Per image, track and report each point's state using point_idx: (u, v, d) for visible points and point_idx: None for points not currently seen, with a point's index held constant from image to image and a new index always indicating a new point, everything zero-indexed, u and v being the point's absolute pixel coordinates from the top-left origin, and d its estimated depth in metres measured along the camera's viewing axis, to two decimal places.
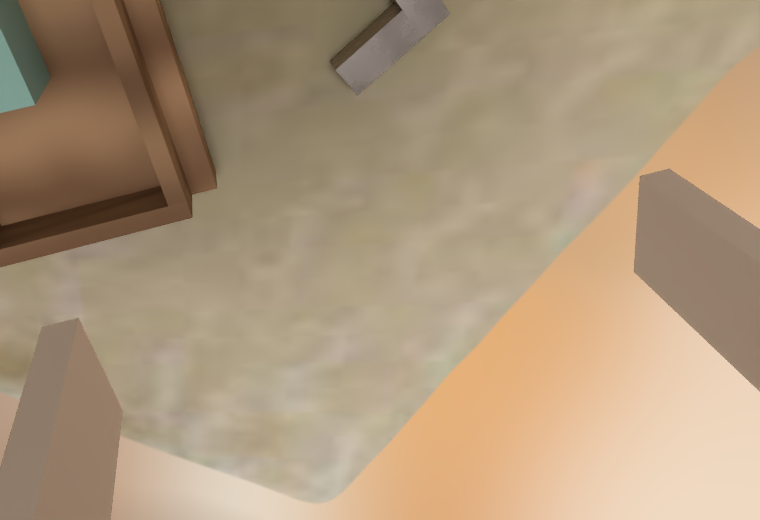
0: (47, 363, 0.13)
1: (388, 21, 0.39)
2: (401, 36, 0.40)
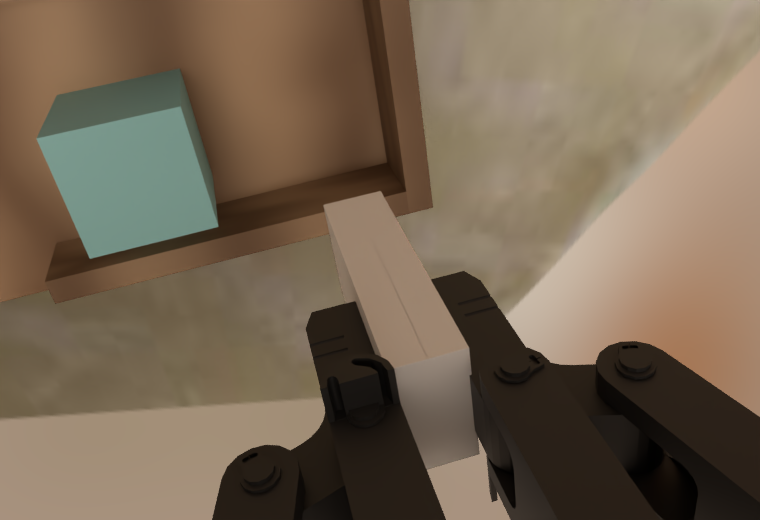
0: (346, 227, 0.16)
1: None
2: None
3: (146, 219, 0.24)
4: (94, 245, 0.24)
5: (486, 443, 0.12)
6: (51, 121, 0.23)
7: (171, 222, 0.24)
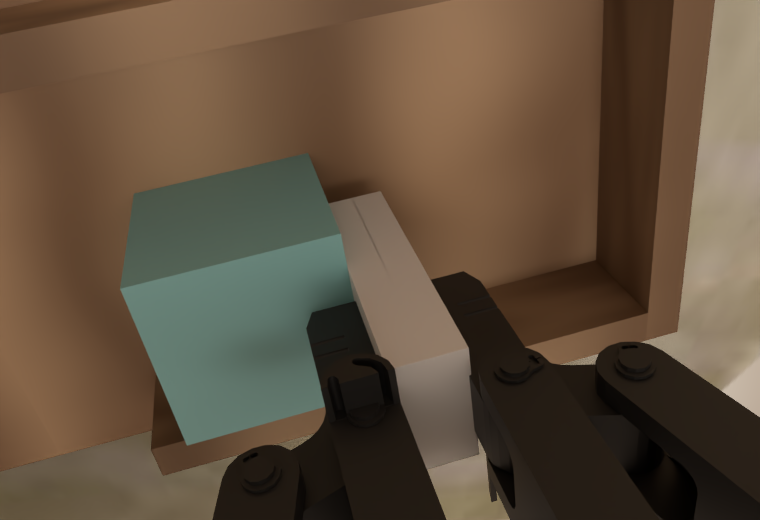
0: (346, 227, 0.16)
1: None
2: None
3: (273, 389, 0.16)
4: (195, 428, 0.16)
5: (486, 443, 0.12)
6: (137, 250, 0.15)
7: (308, 391, 0.16)
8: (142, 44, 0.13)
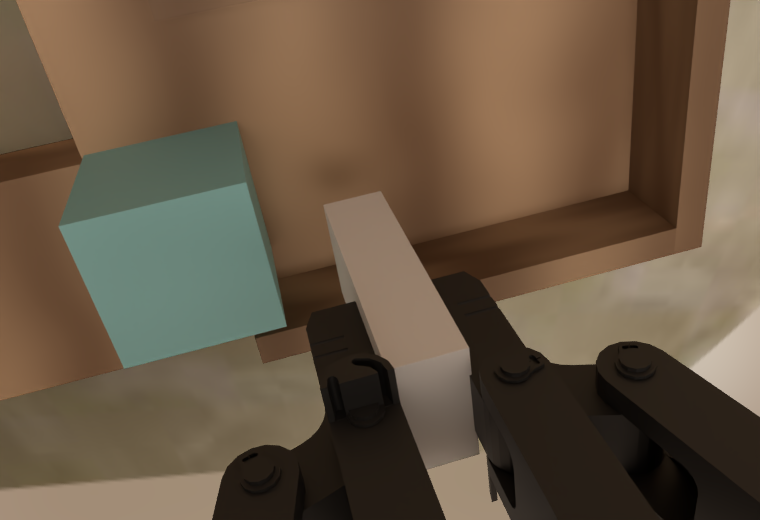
0: (346, 227, 0.16)
1: None
2: None
3: (196, 320, 0.19)
4: (130, 353, 0.19)
5: (486, 443, 0.12)
6: (77, 198, 0.18)
7: (228, 323, 0.19)
8: None
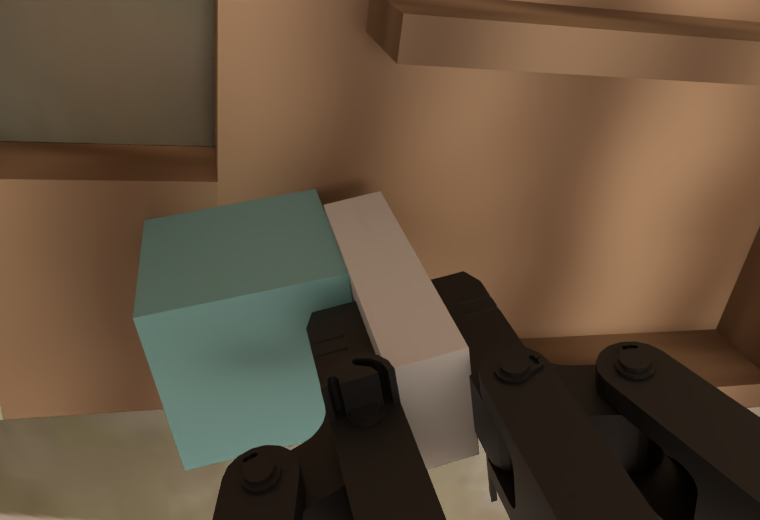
0: (346, 227, 0.16)
1: None
2: None
3: (272, 419, 0.16)
4: (194, 454, 0.16)
5: (486, 443, 0.12)
6: (148, 279, 0.15)
7: (306, 422, 0.17)
8: (531, 55, 0.15)
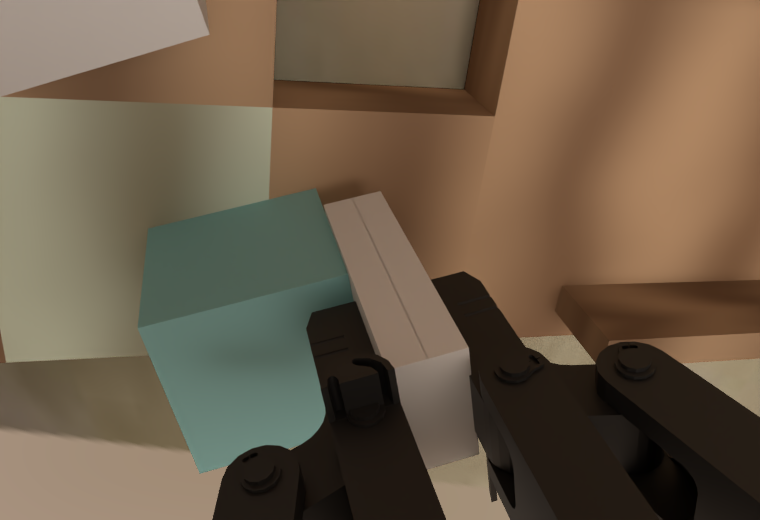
0: (346, 227, 0.16)
1: None
2: None
3: (282, 420, 0.17)
4: (208, 457, 0.17)
5: (486, 443, 0.12)
6: (152, 288, 0.16)
7: (316, 421, 0.17)
8: None
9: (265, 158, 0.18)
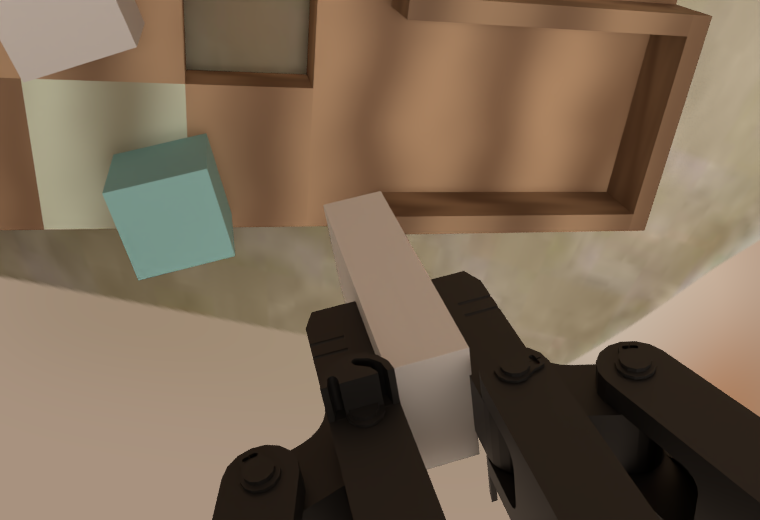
0: (346, 227, 0.16)
1: None
2: None
3: (180, 250, 0.32)
4: (142, 270, 0.32)
5: (486, 443, 0.12)
6: (111, 178, 0.31)
7: (199, 253, 0.32)
8: (473, 15, 0.31)
9: (183, 112, 0.33)
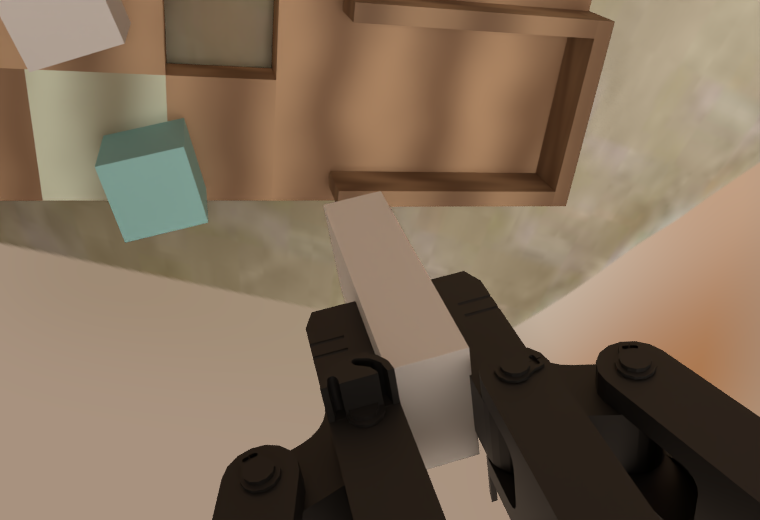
0: (346, 227, 0.16)
1: None
2: None
3: (161, 217, 0.37)
4: (128, 233, 0.37)
5: (486, 443, 0.12)
6: (102, 155, 0.36)
7: (177, 219, 0.37)
8: (409, 19, 0.36)
9: (164, 99, 0.38)
